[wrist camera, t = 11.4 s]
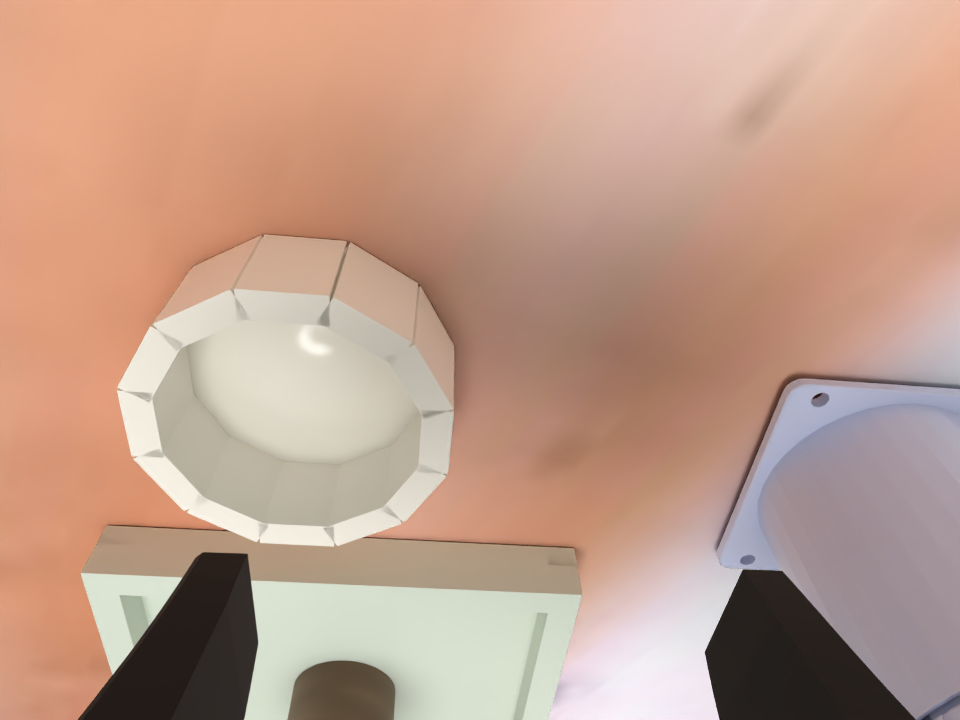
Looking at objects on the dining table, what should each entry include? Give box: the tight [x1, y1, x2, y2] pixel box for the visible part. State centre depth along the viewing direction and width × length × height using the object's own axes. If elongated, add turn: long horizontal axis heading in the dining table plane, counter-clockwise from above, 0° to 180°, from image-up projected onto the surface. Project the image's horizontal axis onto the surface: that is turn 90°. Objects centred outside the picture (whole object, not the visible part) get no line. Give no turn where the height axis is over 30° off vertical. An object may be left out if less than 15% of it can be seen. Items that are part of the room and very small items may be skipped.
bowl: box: [117, 234, 454, 547], centre depth 19 cm, size 8×8×3 cm
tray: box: [81, 525, 582, 720], centre depth 28 cm, size 16×16×2 cm
